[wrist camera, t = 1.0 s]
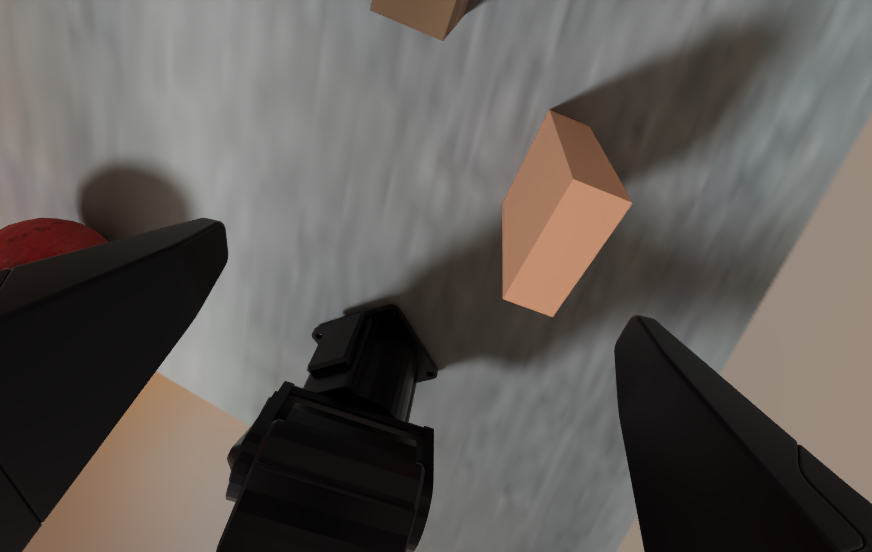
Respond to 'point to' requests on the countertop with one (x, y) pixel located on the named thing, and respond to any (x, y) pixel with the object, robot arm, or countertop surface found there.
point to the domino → (423, 14)
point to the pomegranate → (43, 240)
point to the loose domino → (558, 214)
